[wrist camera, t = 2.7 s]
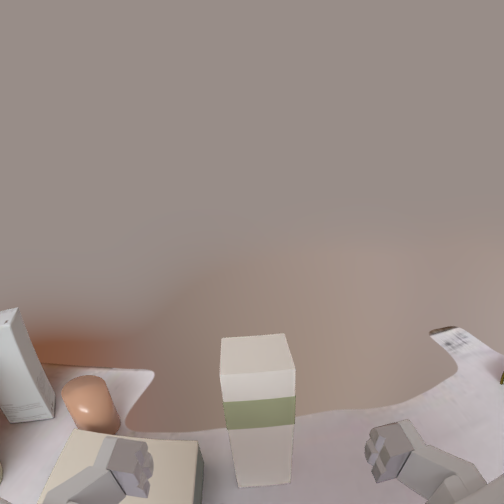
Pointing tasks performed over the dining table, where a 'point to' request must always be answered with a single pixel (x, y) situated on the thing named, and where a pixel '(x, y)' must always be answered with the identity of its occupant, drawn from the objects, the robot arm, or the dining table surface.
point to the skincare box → (22, 374)
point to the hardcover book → (502, 379)
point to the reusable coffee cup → (1, 473)
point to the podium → (164, 474)
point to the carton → (259, 407)
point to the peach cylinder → (91, 405)
